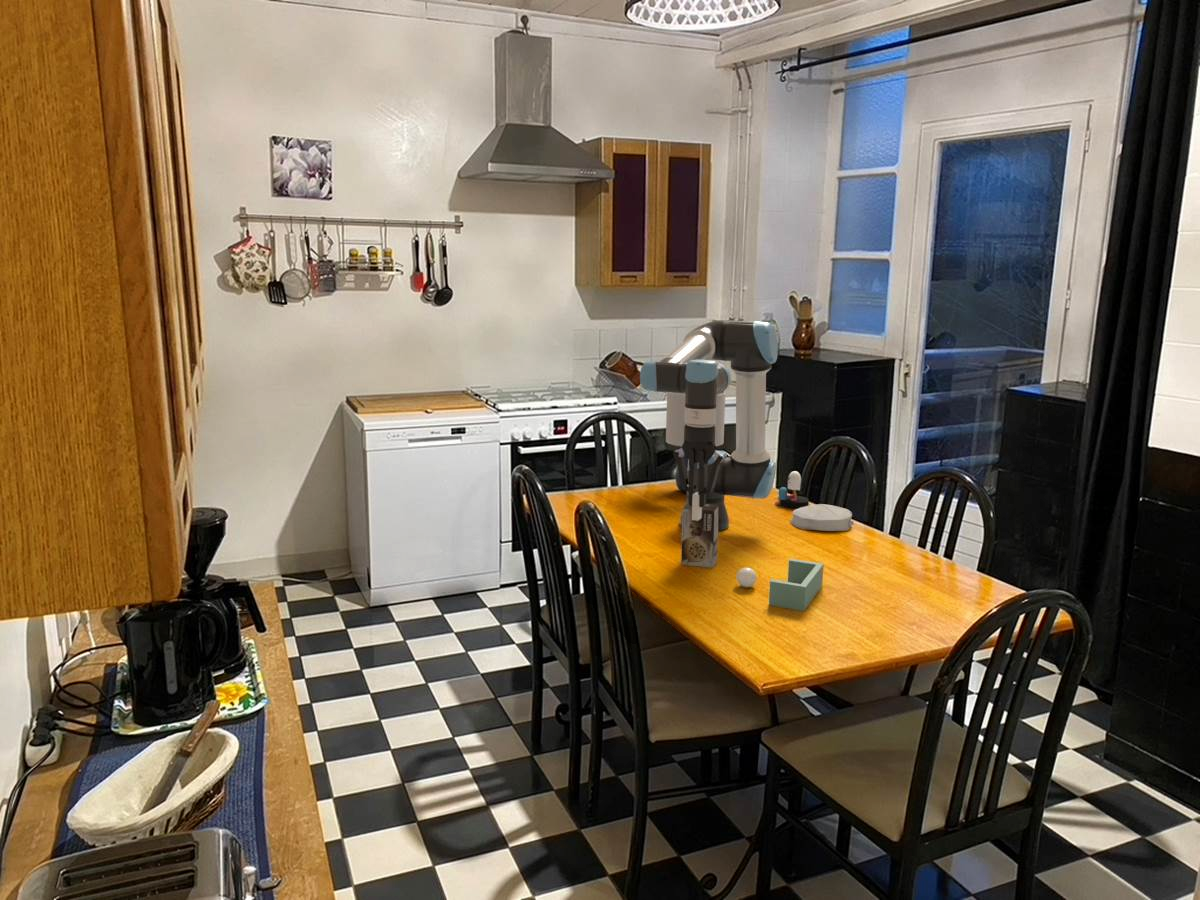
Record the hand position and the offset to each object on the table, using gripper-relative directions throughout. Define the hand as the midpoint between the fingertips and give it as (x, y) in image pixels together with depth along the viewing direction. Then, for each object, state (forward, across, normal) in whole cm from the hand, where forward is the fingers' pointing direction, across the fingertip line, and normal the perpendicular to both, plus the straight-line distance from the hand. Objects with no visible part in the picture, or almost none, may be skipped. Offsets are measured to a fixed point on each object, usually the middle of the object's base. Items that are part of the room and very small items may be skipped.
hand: (696, 518), depth 222 cm
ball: (+16, +11, +8) cm, 21 cm away
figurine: (+19, +1, +92) cm, 94 cm away
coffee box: (+19, -6, +20) cm, 28 cm away
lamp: (+19, -35, +93) cm, 101 cm away
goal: (+18, +23, +8) cm, 31 cm away
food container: (+19, +15, +75) cm, 79 cm away
